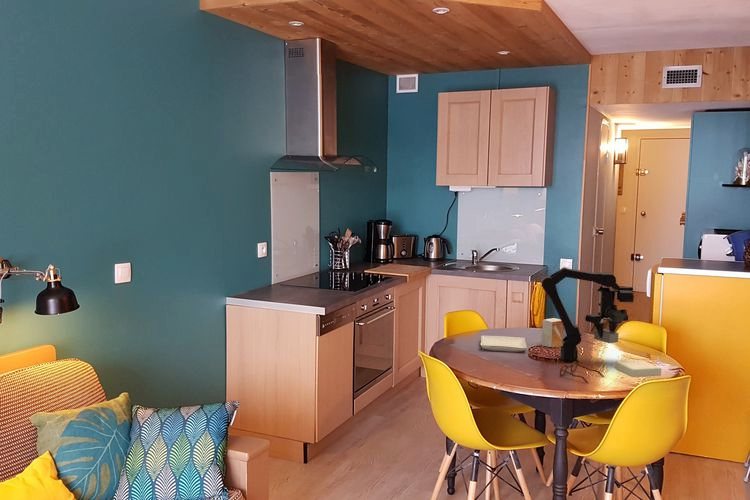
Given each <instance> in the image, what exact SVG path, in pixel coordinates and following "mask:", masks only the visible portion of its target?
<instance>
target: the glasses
mask: <svg viewBox="0 0 750 500" xmlns="http://www.w3.org/2000/svg"><path fill="white" fill-rule="evenodd" d="M574 364H576V365H575V367H574V369H573V366H574ZM578 366H579V367H581V368H583V369H585V370H588V371H590V372H595V373H598V375H600V377H602V378H605V376H604V375H603V374H602V372H600V370H597V369H593V368H590V367H587V366H585V365H582V364H580V363H578V362H577V361H574V362H571V364H570V365H567V364H563V365H562V366H561V368H560V370H559V376H561V377H562V376H565V374H568V375H570V376H572V377H575V378H582V380H583V381H584V382H585V383H586V384H589V383H590V382H589V381H587V379H586V378H585V377H584V376H582V375H579V374H578V375H577V374H573V373H574V372H575V371H576V370H577V369H578ZM563 368H565V369H563ZM568 368H570V371H568ZM562 372H563V373H562Z"/></svg>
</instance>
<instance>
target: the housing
mask: <svg viewBox="0 0 750 500" xmlns="http://www.w3.org/2000/svg"><path fill="white" fill-rule="evenodd" d="M593 333H594V334H593V339H594V340H597V341H600V342H603V343H607V344H614V343H619V332H616V331H615V332H612V331H610V330H609V328H603V335H602V338H600V337H599V334H598V332H597V330H596V329H594V332H593Z"/></svg>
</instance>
